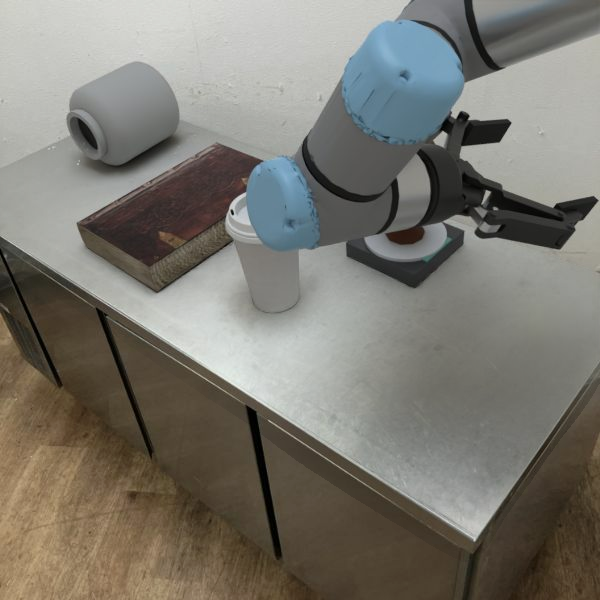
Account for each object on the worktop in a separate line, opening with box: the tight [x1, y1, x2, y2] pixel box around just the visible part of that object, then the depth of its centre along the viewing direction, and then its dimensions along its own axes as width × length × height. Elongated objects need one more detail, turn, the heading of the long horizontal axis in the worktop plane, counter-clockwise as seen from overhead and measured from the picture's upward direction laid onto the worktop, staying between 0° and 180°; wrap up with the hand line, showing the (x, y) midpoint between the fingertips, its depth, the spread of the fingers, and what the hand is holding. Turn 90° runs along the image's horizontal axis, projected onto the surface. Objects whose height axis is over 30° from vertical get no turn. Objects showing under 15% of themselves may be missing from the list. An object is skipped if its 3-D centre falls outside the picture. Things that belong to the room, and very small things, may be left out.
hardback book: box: [76, 142, 264, 293], centre depth 102 cm, size 29×19×5 cm, turn 137°
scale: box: [345, 221, 465, 289], centre depth 93 cm, size 12×12×3 cm
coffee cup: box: [225, 193, 301, 314], centre depth 84 cm, size 10×10×15 cm
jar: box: [47, 60, 196, 166], centre depth 117 cm, size 19×15×25 cm
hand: (544, 167), depth 71 cm, fingers open, 13 cm apart
